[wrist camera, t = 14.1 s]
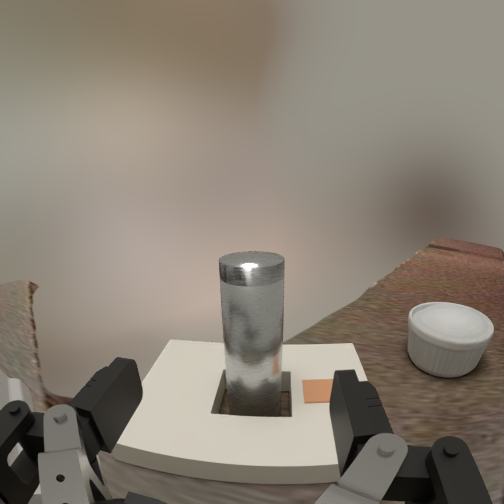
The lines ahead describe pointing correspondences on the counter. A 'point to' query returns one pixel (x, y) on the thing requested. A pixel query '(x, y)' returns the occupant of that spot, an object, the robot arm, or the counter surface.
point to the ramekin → (447, 338)
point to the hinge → (12, 389)
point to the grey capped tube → (253, 331)
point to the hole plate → (236, 418)
